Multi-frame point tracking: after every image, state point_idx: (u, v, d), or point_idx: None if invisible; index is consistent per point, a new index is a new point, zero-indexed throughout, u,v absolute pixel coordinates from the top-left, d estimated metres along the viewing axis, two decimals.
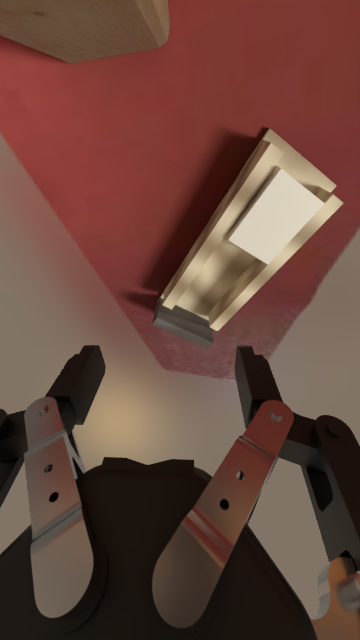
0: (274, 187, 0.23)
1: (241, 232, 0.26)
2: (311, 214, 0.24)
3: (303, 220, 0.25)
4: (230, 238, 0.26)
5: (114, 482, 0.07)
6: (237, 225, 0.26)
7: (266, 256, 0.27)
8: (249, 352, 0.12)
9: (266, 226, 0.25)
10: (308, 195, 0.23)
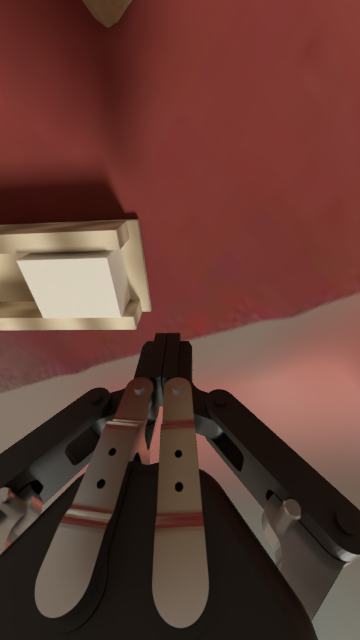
0: (91, 265, 0.20)
1: (35, 268, 0.20)
2: (106, 315, 0.23)
3: (97, 313, 0.22)
4: (19, 261, 0.20)
5: None
6: (37, 258, 0.20)
7: (46, 310, 0.23)
8: (175, 338, 0.13)
9: (63, 287, 0.21)
10: (113, 299, 0.21)
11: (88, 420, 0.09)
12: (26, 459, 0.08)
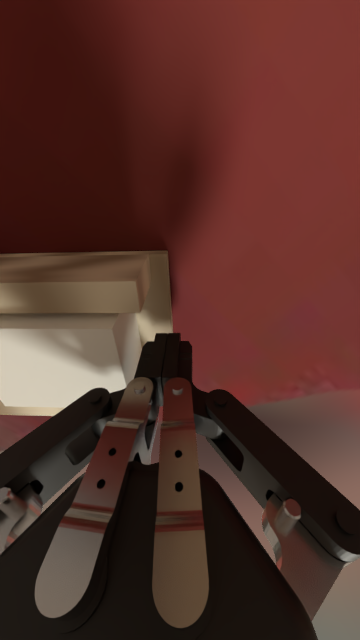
0: (84, 339, 0.11)
1: None
2: None
3: None
4: None
5: None
6: None
7: (9, 397, 0.14)
8: (175, 338, 0.13)
9: (35, 368, 0.12)
10: (120, 386, 0.13)
11: (88, 420, 0.09)
12: (26, 459, 0.08)
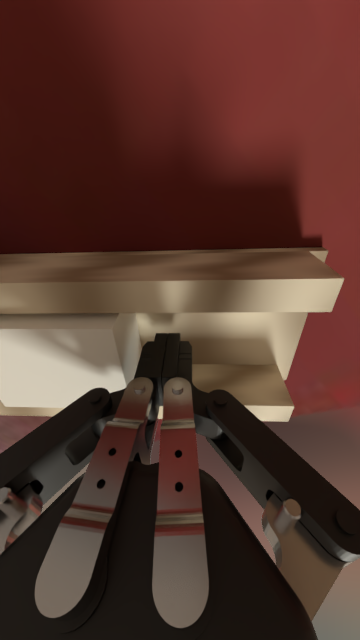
0: (84, 339, 0.11)
1: None
2: None
3: None
4: None
5: None
6: None
7: (9, 397, 0.14)
8: (175, 338, 0.13)
9: (35, 368, 0.12)
10: (120, 386, 0.13)
11: (88, 421, 0.09)
12: (26, 459, 0.08)
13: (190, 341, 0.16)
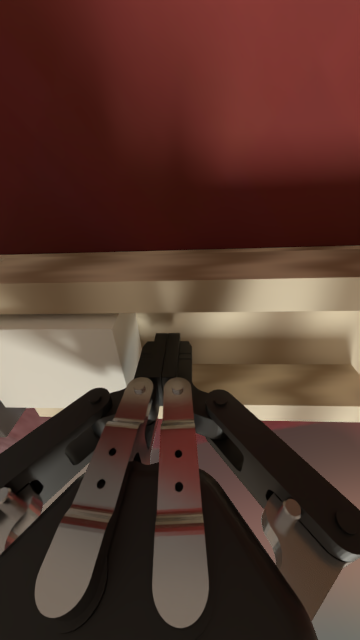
0: (83, 339, 0.11)
1: None
2: None
3: None
4: None
5: None
6: None
7: (10, 398, 0.14)
8: (175, 338, 0.13)
9: (35, 368, 0.12)
10: (120, 386, 0.13)
11: (88, 420, 0.09)
12: (26, 459, 0.08)
13: (267, 341, 0.16)
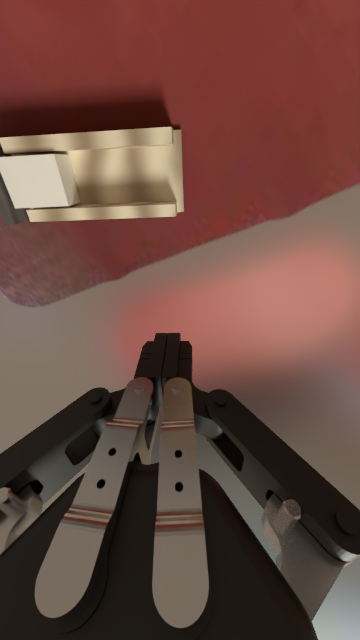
0: (44, 160, 0.30)
1: (7, 163, 0.30)
2: (58, 204, 0.33)
3: (52, 202, 0.32)
4: None
5: None
6: None
7: (17, 201, 0.33)
8: (175, 338, 0.13)
9: (27, 179, 0.31)
10: (61, 189, 0.31)
11: (88, 421, 0.09)
12: (26, 459, 0.08)
13: (133, 186, 0.34)
